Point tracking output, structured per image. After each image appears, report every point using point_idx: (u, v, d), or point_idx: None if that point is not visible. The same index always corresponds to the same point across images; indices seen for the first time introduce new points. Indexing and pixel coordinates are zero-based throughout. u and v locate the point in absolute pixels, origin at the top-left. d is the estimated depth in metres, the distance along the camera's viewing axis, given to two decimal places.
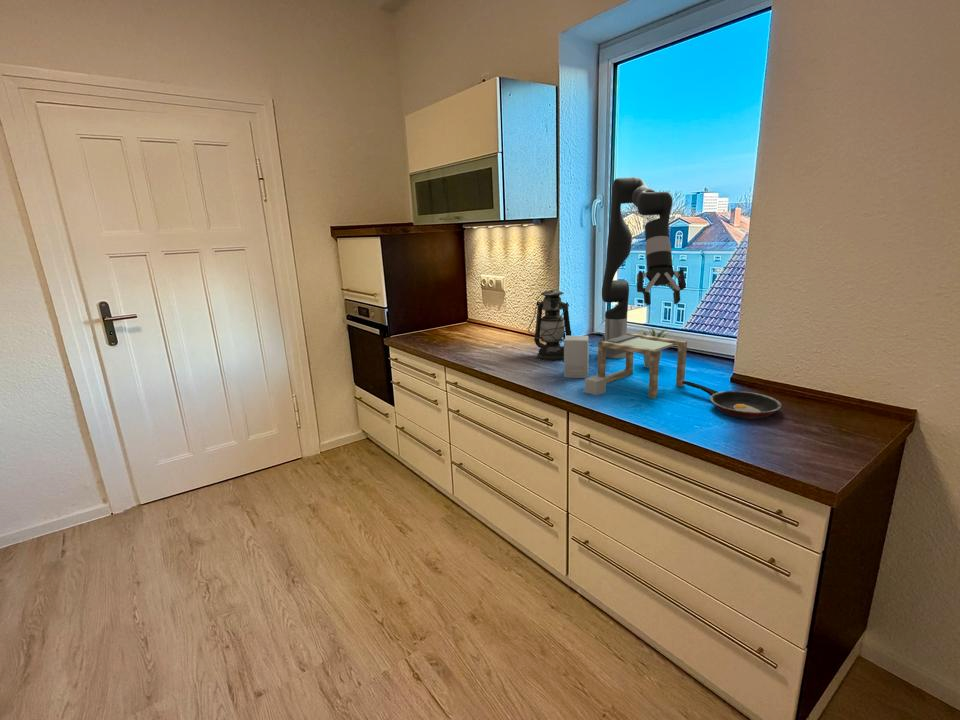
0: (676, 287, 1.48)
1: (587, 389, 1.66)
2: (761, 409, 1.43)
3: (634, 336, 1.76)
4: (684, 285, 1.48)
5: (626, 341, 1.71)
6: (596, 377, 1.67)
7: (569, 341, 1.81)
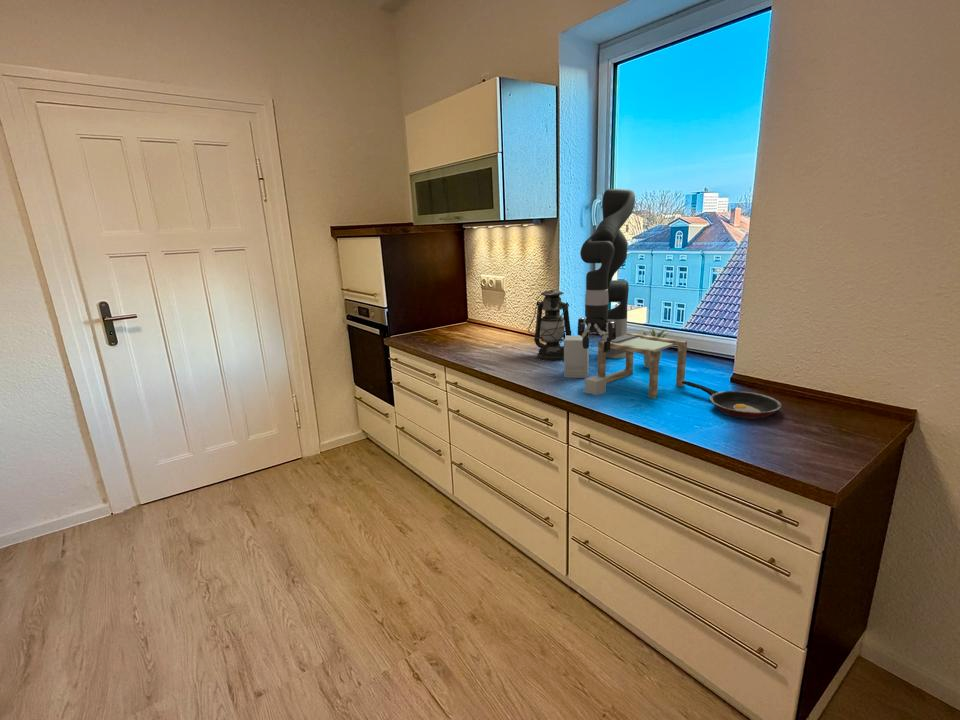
0: (604, 338, 1.58)
1: (587, 389, 1.66)
2: (761, 409, 1.44)
3: (634, 336, 1.76)
4: (610, 338, 1.56)
5: (626, 341, 1.71)
6: (596, 377, 1.67)
7: (569, 341, 1.81)
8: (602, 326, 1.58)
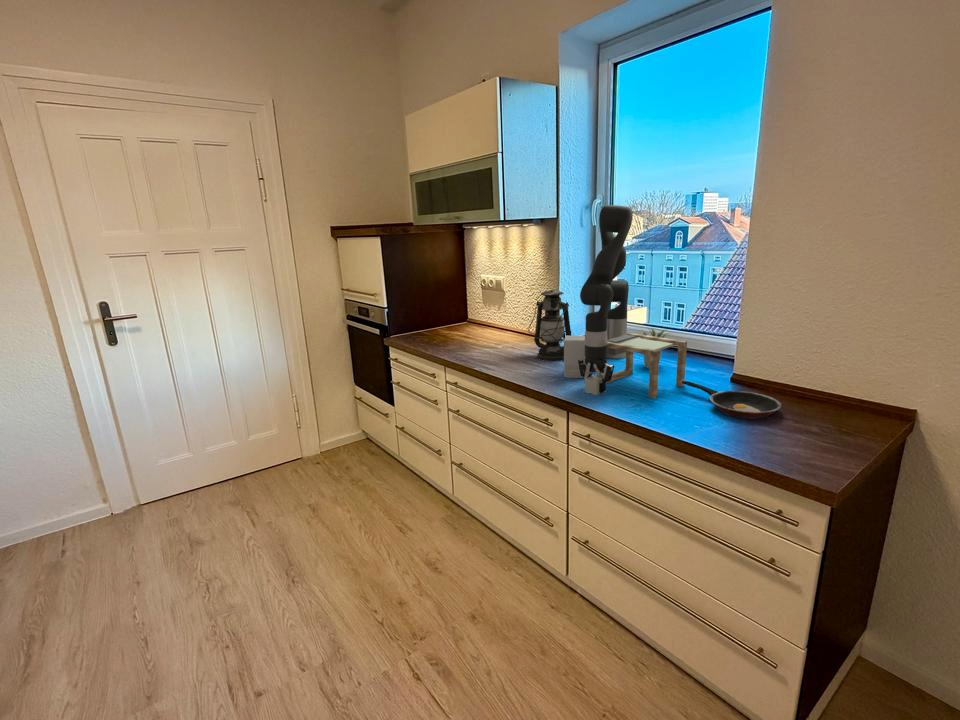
0: (600, 379, 1.63)
1: (587, 389, 1.66)
2: (761, 409, 1.44)
3: (634, 336, 1.76)
4: (605, 379, 1.61)
5: (626, 341, 1.71)
6: (596, 377, 1.67)
7: (569, 341, 1.81)
8: (601, 368, 1.62)
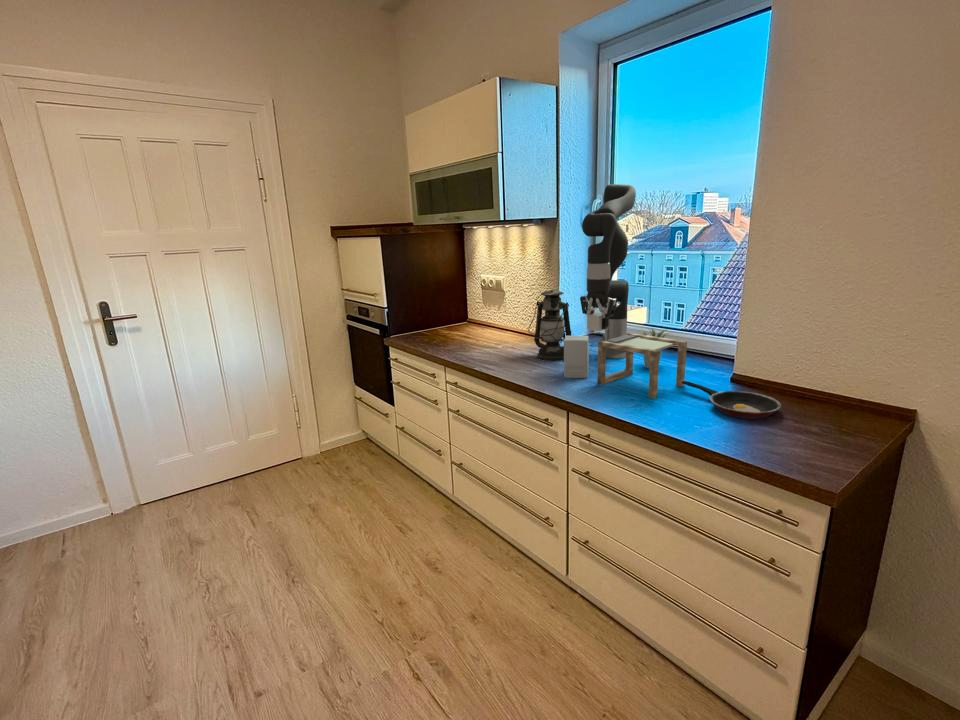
0: (602, 314, 1.57)
1: (589, 326, 1.61)
2: (761, 409, 1.44)
3: (634, 336, 1.76)
4: (608, 314, 1.55)
5: (626, 341, 1.71)
6: (598, 313, 1.61)
7: (569, 341, 1.81)
8: (603, 302, 1.56)
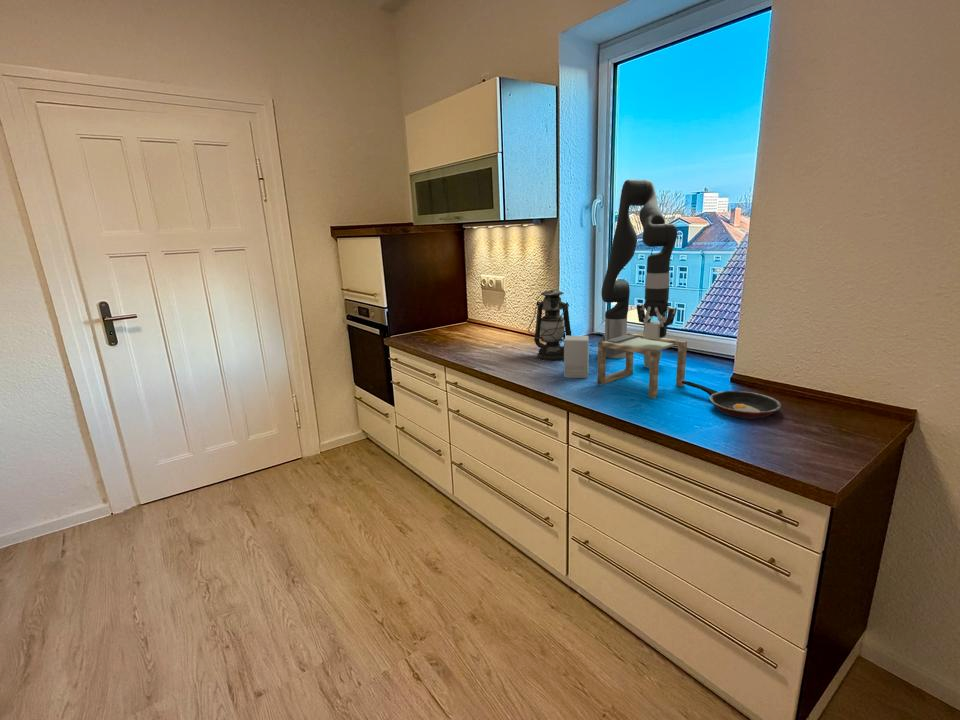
0: (661, 323, 1.60)
1: (646, 334, 1.63)
2: (761, 409, 1.44)
3: (634, 336, 1.76)
4: (667, 323, 1.58)
5: (626, 341, 1.71)
6: (655, 322, 1.64)
7: (569, 341, 1.81)
8: (662, 311, 1.58)
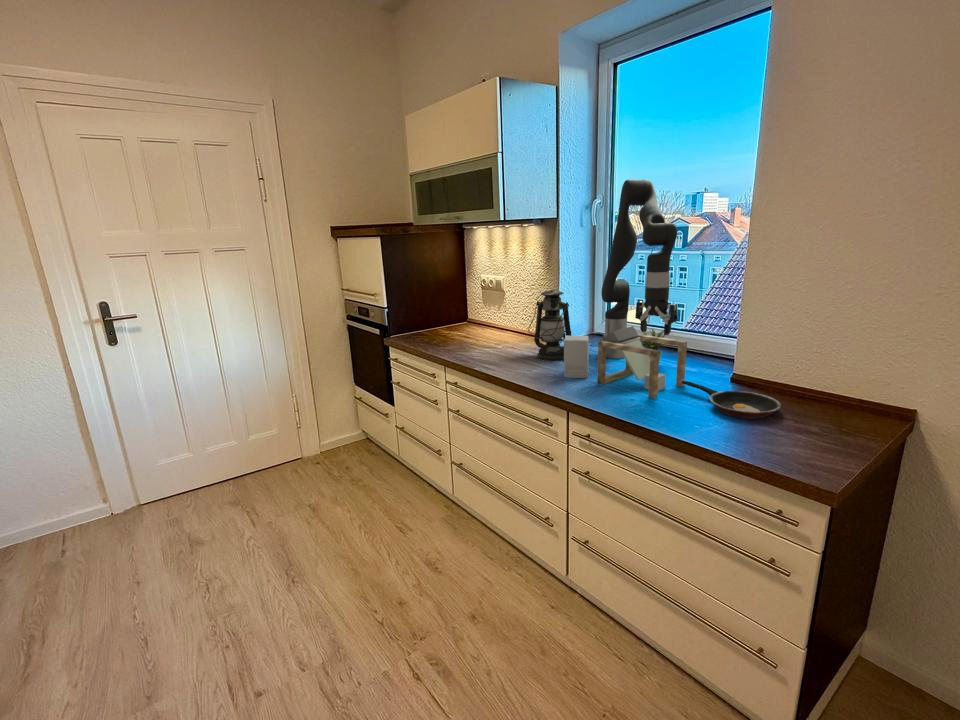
0: (665, 321, 1.58)
1: (647, 378, 1.66)
2: (760, 409, 1.44)
3: (637, 335, 1.75)
4: (672, 320, 1.56)
5: (627, 342, 1.71)
6: (663, 381, 1.66)
7: (569, 341, 1.81)
8: (663, 309, 1.58)
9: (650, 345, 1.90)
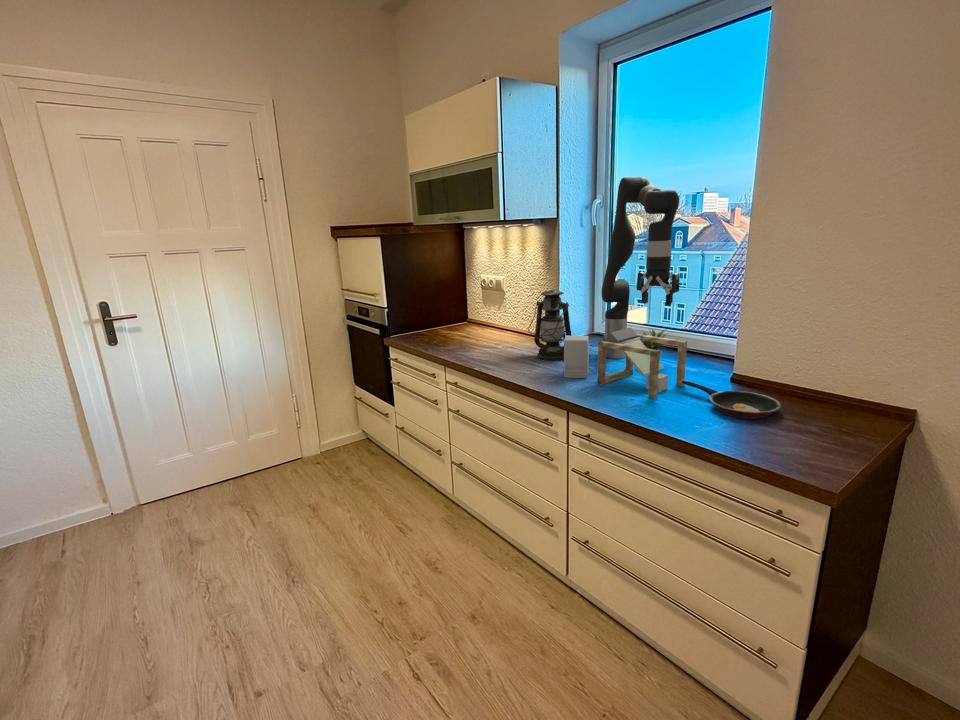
0: (666, 291, 1.55)
1: None
2: (760, 409, 1.44)
3: (636, 335, 1.75)
4: (674, 290, 1.53)
5: (627, 342, 1.71)
6: (665, 381, 1.65)
7: (569, 341, 1.81)
8: (665, 278, 1.55)
9: (650, 345, 1.90)
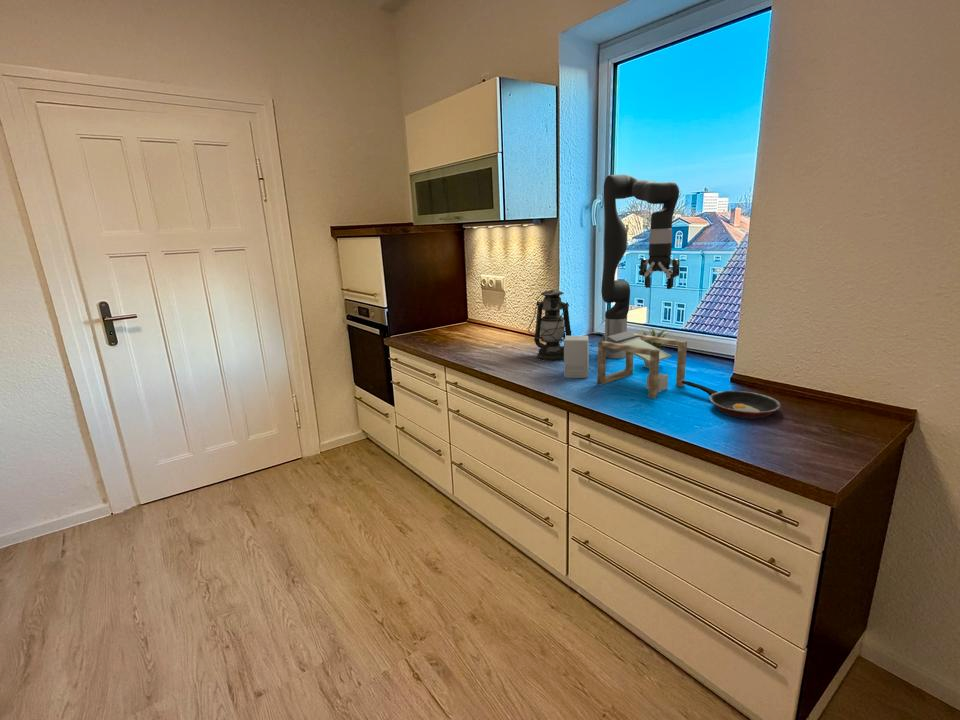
0: (668, 275, 1.68)
1: None
2: (760, 409, 1.44)
3: (635, 335, 1.76)
4: (674, 274, 1.66)
5: (626, 341, 1.71)
6: (665, 381, 1.65)
7: (569, 341, 1.81)
8: (666, 263, 1.68)
9: None
